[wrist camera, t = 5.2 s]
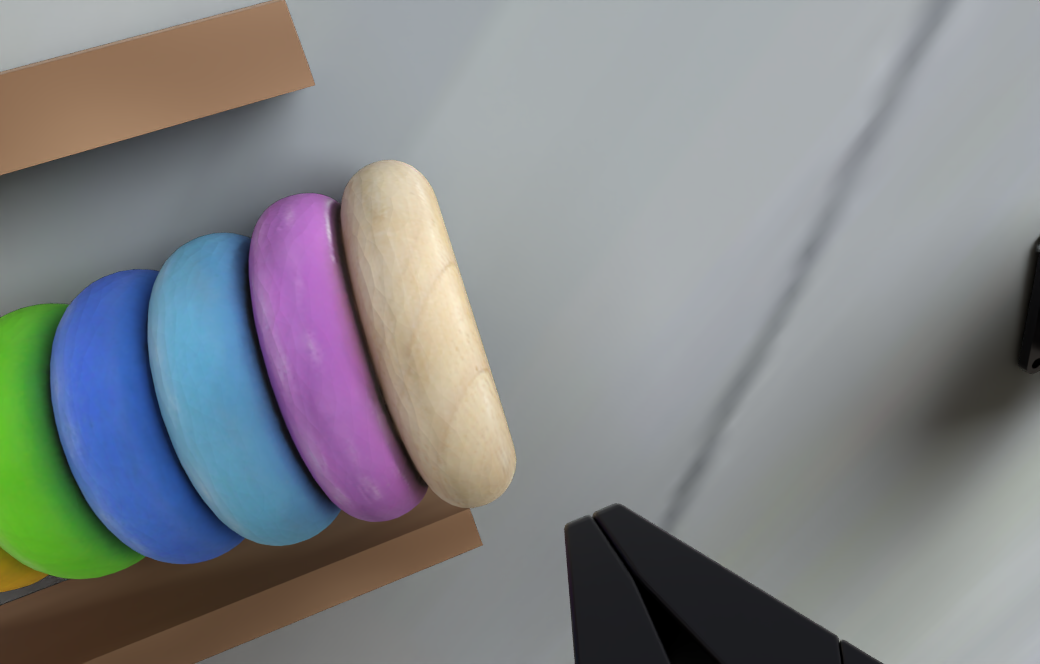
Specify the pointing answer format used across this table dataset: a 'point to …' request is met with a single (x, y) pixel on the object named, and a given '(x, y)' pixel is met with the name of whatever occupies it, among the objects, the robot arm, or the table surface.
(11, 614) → the u rest
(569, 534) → the robot arm
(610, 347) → the table surface
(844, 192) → the table surface
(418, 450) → the stacking toy
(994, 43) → the table surface
